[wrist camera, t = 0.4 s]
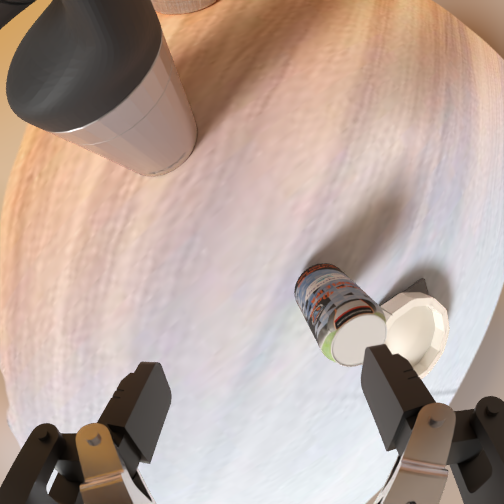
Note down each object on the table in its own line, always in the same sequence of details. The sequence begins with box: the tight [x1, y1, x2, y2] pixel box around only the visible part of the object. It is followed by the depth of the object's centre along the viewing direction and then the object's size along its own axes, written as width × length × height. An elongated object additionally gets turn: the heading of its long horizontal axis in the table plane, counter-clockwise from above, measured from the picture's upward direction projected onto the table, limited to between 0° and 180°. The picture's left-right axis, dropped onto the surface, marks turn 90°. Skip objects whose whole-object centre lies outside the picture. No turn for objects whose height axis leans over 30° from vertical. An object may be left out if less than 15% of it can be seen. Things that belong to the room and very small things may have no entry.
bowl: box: [362, 292, 450, 379], centre depth 30 cm, size 13×13×3 cm
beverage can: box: [295, 264, 387, 367], centre depth 25 cm, size 6×7×12 cm
